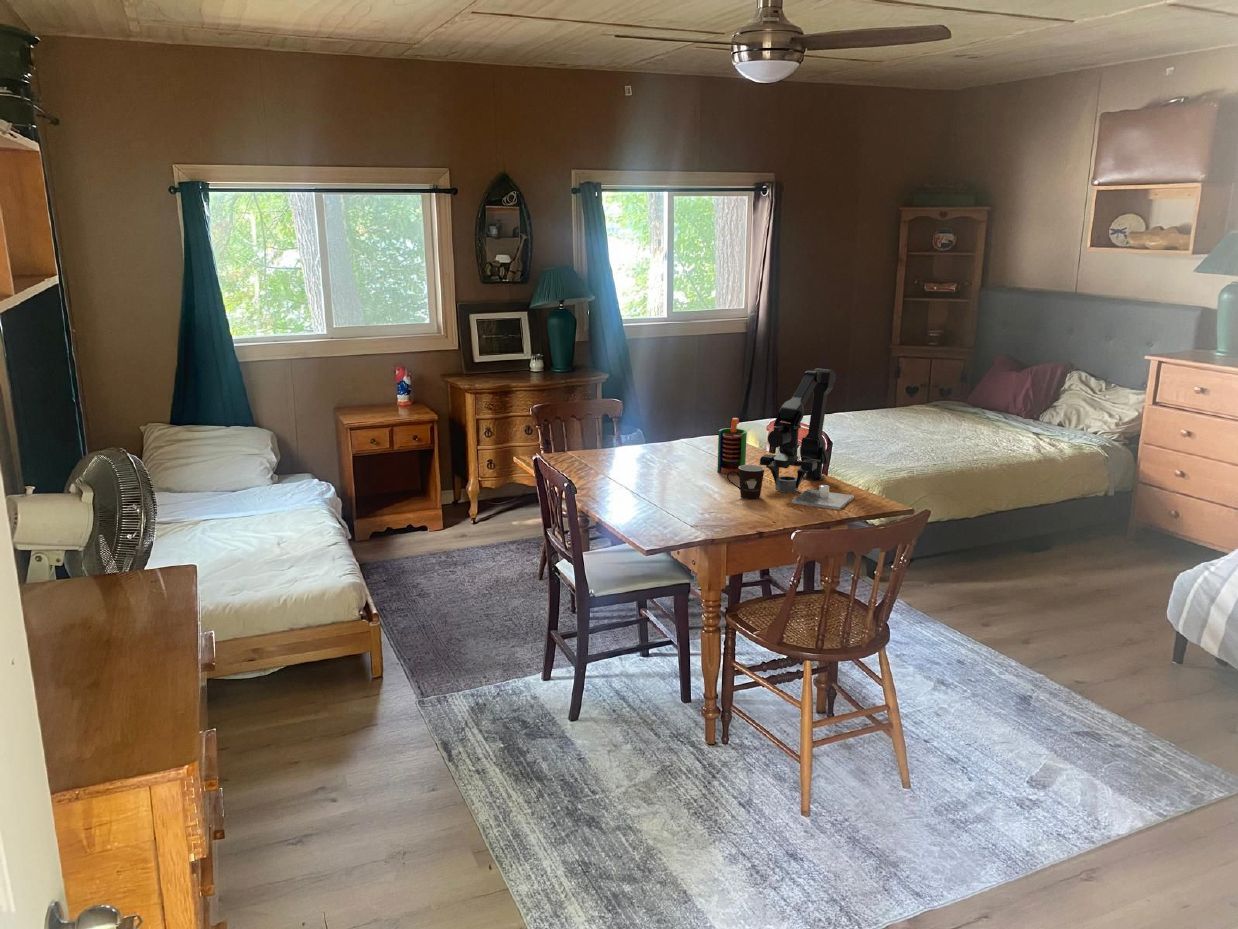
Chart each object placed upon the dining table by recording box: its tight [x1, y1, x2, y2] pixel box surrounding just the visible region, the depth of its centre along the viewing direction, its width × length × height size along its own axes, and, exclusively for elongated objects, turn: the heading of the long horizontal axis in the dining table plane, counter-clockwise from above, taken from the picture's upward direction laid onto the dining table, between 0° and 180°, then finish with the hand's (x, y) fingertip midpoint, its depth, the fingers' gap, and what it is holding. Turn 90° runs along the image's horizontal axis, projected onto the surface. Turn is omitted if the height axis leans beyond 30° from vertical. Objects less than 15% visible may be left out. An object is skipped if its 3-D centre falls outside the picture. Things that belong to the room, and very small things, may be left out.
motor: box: [717, 417, 748, 476], centre depth 345 cm, size 10×9×20 cm
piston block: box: [791, 484, 855, 511], centre depth 311 cm, size 16×16×5 cm
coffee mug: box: [726, 464, 766, 500], centre depth 315 cm, size 12×9×10 cm
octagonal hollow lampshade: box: [775, 475, 799, 493], centre depth 324 cm, size 7×7×4 cm
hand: (787, 486), depth 324 cm, fingers closed on octagonal hollow lampshade, 7 cm apart
